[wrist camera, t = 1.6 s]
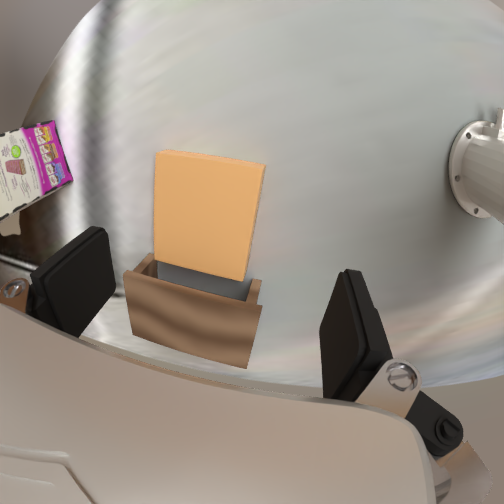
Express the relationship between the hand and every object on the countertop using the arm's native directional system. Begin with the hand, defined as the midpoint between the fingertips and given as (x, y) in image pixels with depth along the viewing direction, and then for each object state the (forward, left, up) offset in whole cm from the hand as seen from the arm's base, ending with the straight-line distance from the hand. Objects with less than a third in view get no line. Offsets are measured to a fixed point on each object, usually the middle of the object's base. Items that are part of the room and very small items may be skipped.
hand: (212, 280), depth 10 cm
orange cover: (+7, -7, -22) cm, 24 cm away
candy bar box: (+2, -34, -22) cm, 40 cm away
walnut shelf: (+20, -7, -22) cm, 30 cm away
